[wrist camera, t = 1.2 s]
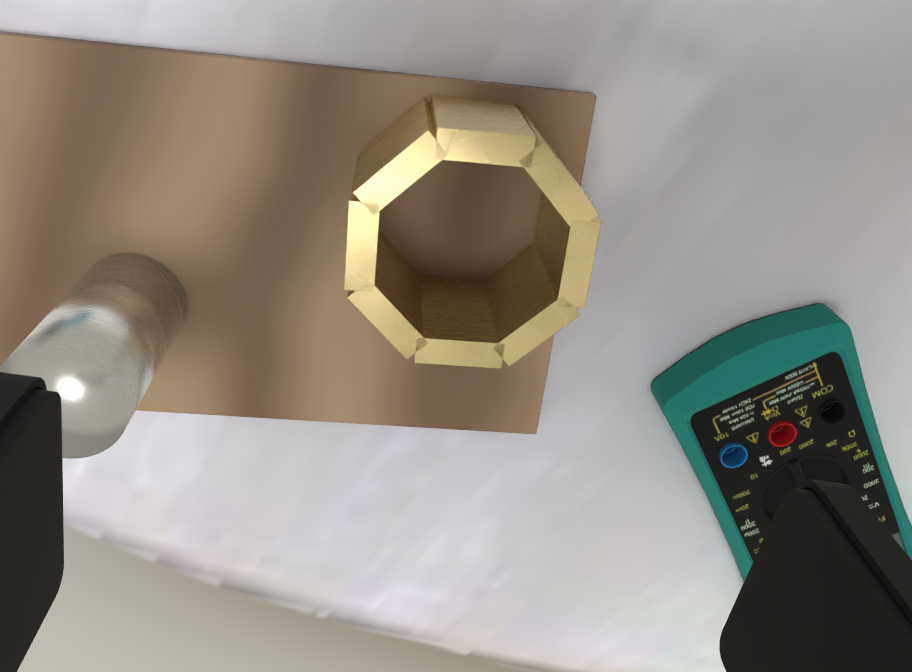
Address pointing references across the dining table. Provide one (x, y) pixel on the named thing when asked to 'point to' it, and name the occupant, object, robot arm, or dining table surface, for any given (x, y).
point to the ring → (454, 299)
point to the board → (259, 222)
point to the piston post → (104, 347)
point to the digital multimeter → (778, 423)
